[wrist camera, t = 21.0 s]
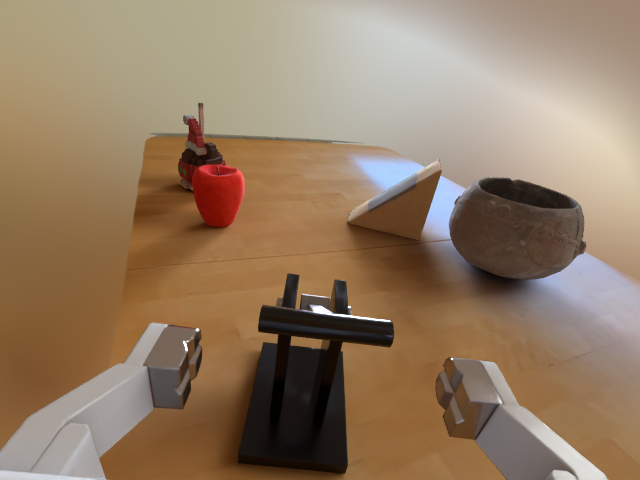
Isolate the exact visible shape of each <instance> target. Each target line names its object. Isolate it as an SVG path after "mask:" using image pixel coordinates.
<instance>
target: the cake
mask: <svg viewBox="0 0 640 480" xmlns="http://www.w3.org/2000/svg"><path fill="white" fill-rule="evenodd" d="M198 106H199V125H198V121H196V119H195V118H194V116H192V115H184V117H183V121H184V124H186V125H189V133H188V135H189V136H188V140H187V141H186V143H185V145H186V148H188V149H185V151H184V152H183V153H182V158H181V159H179V160H180V161H179V165H178V171H179V174H180V176H181V177H182V178H183V179H181V185H182V186H183V187H184V188H186V189H188V188H189V189H191V190H193V186H192V178H193V174H194V171H195V169H197V168H199V167H200V166H203V165H224V166H225V160H223V157H222V155H221V154H220V152H218V151H217V149H216V145H214V144H213V143H205V144H204V118H203V103H199V104H198Z"/></svg>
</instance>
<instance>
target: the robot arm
mask: <svg viewBox="0 0 640 480" xmlns="http://www.w3.org/2000/svg"><path fill="white" fill-rule="evenodd" d="M201 338H202V337H201V330H200V329H196V328H189V327H182V326H175V325H166V324H159V323H151V324H150V325H149V326H148V327H147V328H146V330H145V331H144V333H143V334H142V336H141V337H140V339H139V340H138V342H137V343H136V345H135V346H134V348H133V349H132V351H131V352H130V354H129V355H128V357H127V358H126V360H125V361H124V363H123V364H120V363H118V364H116V365H114V366H113V367H111V368H109V369H108V370H106V371H104V372H103V373H101V374H99V375H98V376H96V377H94V378H93V379H91V380H89V381H87V382H86V383H84V384H82V385H81V386H79V387H77V388H76V389H74V390H72V391H71V392H69V393H67V394H66V395H64V396H62V397H61V398H59V399H57V400H56V401H54V402H52V403H51V404H49V405H47V406H46V407H44V408H42V409H41V410H39V411H37V412H36V413H34V414H32V415H30V416H29V417H28V418H27V419H26V420H25V422H23V424H22V425H21V426H20V427H19V429H18V430H17V431H16V432H15V434H13V436H12V437H11V438H10V439H9V441H8V442H7V443H6V444H5V445H4V447H3V448H2V449H1V450H0V480H106V478H105V475H104V472H103V469H102V466H101V463H100V460H99V458H100V457H101V456H102V455H103V454H105V453H106V452H107V451H108V450H109V449H110V448H111V447H112V446H113V445H115V444H116V443H117V442H118V441H119V440H120V439H121V438H122V437H124V436H125V435H126V434H127V433H128V432H129V431H130V430H131V429H132V428H134V427H135V426H136V425H137V424H138V423H139V422H140V421H141V420H143V419H144V418H145V417H146V416H147V415H148V414H149V413H150V412H151V411H153V410H154V407H155V408H169V409H183V408H184V406H185V403H186V401H187V398H188V396H189V393H190V391H191V382H190V381H192V380H193V379H194V378H196V376H197V373H198V371H199V368H200V364H201V359H202V347H201V346H200V345H199V342H200V340H201ZM443 366H444V369H445V370H444V371H443V372H441V373H440V374H439V375H438V377H437V380H436V387H435V390H436V397H437V400H438V403H439V404H440V405H441V406H442V407H443V408H444V409H445V412H444V414H443V419H444V422H445V425H446V428H447V431H448V434H449V437H457V438H465V439H472V440H476V441H475V442H476V443H477V444H478V445H479V447H480V448H481V449H482V450H483V451H484V453H485V454H486V455H487V456H488V458H489V459H490V460H491V461H492V462H493V464H494V465H495V466H496V467H497V469H498V470H499V471H500V472H501V473H502V475H503V476H504V477H505V478H506V479H507V480H608V479H607V477H606V476H605V474H604V473H603V472H601V471H600V470H599V469H598V468H597V467H595V466H594V465H593V464H592V463H591V462H589V461H588V460H587V459H586V458H585V457H583V456H582V455H581V454H580V453H579V452H578V451H576V450H575V449H574V448H573V447H572V446H570V445H569V444H568V443H567V442H566V441H564V440H563V439H562V438H561V437H560V436H558V435H557V434H556V433H555V432H554V431H552V430H551V429H550V428H549V427H548V426H547V425H545V424H544V423H543V422H542V421H541V420H539V419H538V418H537V417H536V416H535V415H533V414H532V413H531V412H530V411H529V410H527V409H526V408H525V407H520V406H519V404H518V402H517V400H516V398H515V397H514V395H513V393H512V391H511V389H510V388H509V386H508V384H507V382H506V380H505V379H504V377H503V375H502V373H501V372H500V370H499V368H498V366H497V365H496V364H495V363H494V362H489V361H479V360H478V361H477V360H470V359H461V358H451V357H449V358H447V359H446V360H445V362H444V364H443Z"/></svg>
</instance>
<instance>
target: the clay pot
mask: <svg viewBox="0 0 640 480" xmlns="http://www.w3.org/2000/svg"><path fill="white" fill-rule="evenodd" d="M454 204H455V206H454V209H453V211H452V213H451V216H450V221H449V230H450V237H451V240H452V242H453V244H454V246H455V248H456V249H457V251H458V252H459V253H460V254H461V255H462V256H463V257H464V258H465V260H467V261H468V262H469V263H471V264H473V265H474V266H476V267H478V268H480V269H482V270H485V271H487V272H489V273H492V274H494V275H497V276H501V277H505V278H512V279H521V280H530V279H540V278H545V277H547V276H550V275H552V274H555V273H557V272H560V271H561V270H563V269H564V268H566V267H567V266H568V265H569V264H570V263H571V262H572V261H573V260H574V259H575V258H576V257H577V255H580V254H583V253H584V251H585V248H586V242H583V241H582V238H583V232H584V216H583V212H582V209H581V206H580V205H579V204H578V203H577V202H576V201H575V200H574V199H572V198H571V197H569V196H567V195H564V194H561V193H559V192H556V191H553V190H550V189H547V188H545V187H542V186H539V185H535V184H533V183H530V182H525V181H522V180H514V181H512V180H511V179H510V178H498V177H488V178H482V179H480V180H478V181H476V182H474V183H473V184H472V185H471V186H470V187H468V188H467V189H466V190H465V191H464V193H463V194H462V195H461V196H459V197H458V198H457V199H456V201H455V203H454Z"/></svg>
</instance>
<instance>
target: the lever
mask: <svg viewBox="0 0 640 480" xmlns="http://www.w3.org/2000/svg"><path fill="white" fill-rule="evenodd" d="M329 303H330V298H329V297H322V296H314V295H306V294H302V295H301V303H300V309H292V308H284V307H276V306H268V305H263V306H262V308H261V312H260V317H259V324H258V331H259V332H263V333H271V334H280V335H288V336H297V337H305V338H314V339H322V340H331V341H339V342H347V343H356V344H364V345H373V346H381V347H391V345H392V343H393V339H394V326H393V322H392V321H390V320H382V319H374V318H366V317H357V316H349V315H341V314H333V313H331V312H330V311H329Z"/></svg>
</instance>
